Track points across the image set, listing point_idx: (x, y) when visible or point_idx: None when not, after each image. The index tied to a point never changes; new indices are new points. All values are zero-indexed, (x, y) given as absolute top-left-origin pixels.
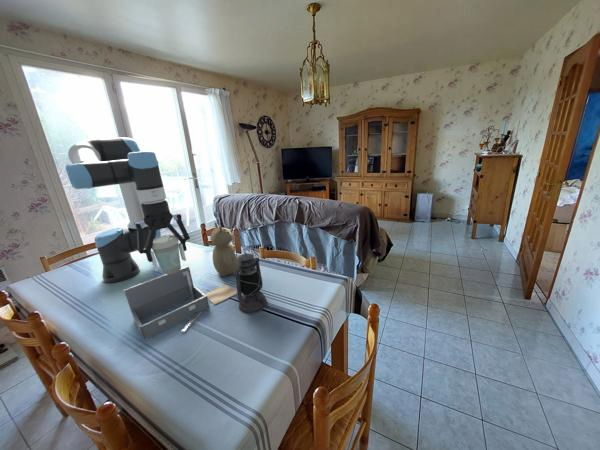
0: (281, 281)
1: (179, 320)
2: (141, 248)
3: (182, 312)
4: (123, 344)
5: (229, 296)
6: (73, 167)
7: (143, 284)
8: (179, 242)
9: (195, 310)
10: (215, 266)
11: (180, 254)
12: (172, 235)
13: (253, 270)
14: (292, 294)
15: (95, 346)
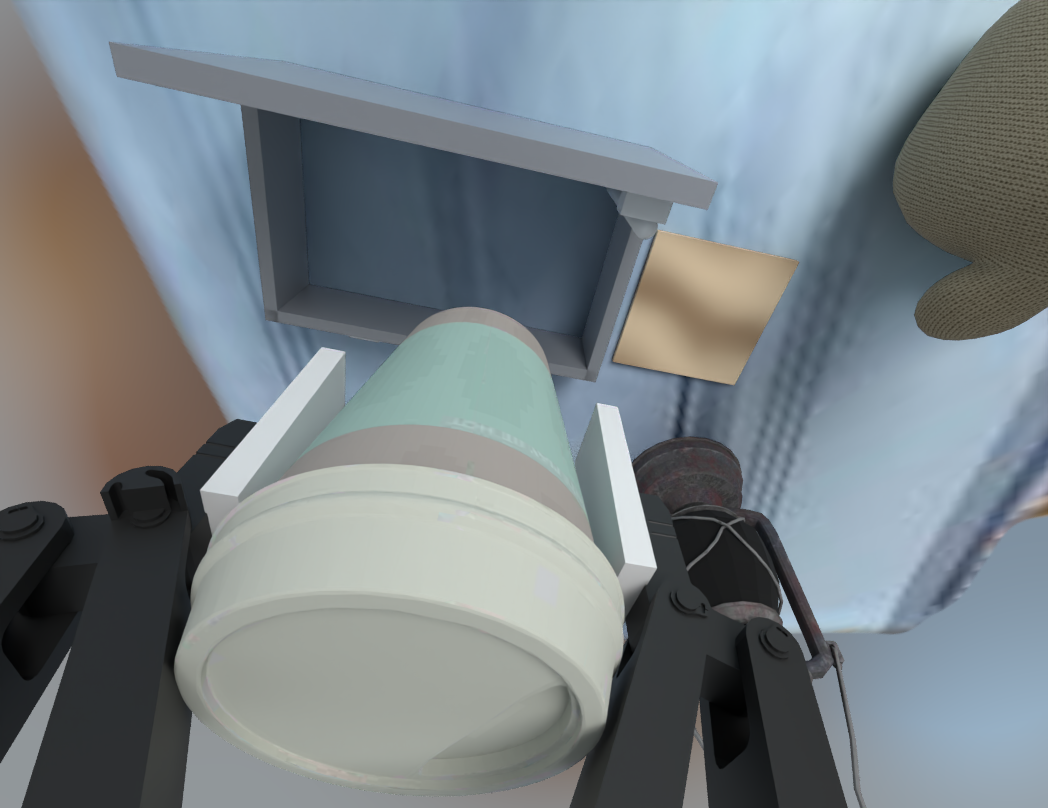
0: (880, 480)
1: None
2: (27, 657)
3: None
4: (219, 231)
5: (692, 374)
6: None
7: (288, 114)
8: (639, 579)
9: None
10: (972, 97)
11: (602, 435)
12: (584, 718)
13: None
14: (785, 551)
15: (91, 106)
